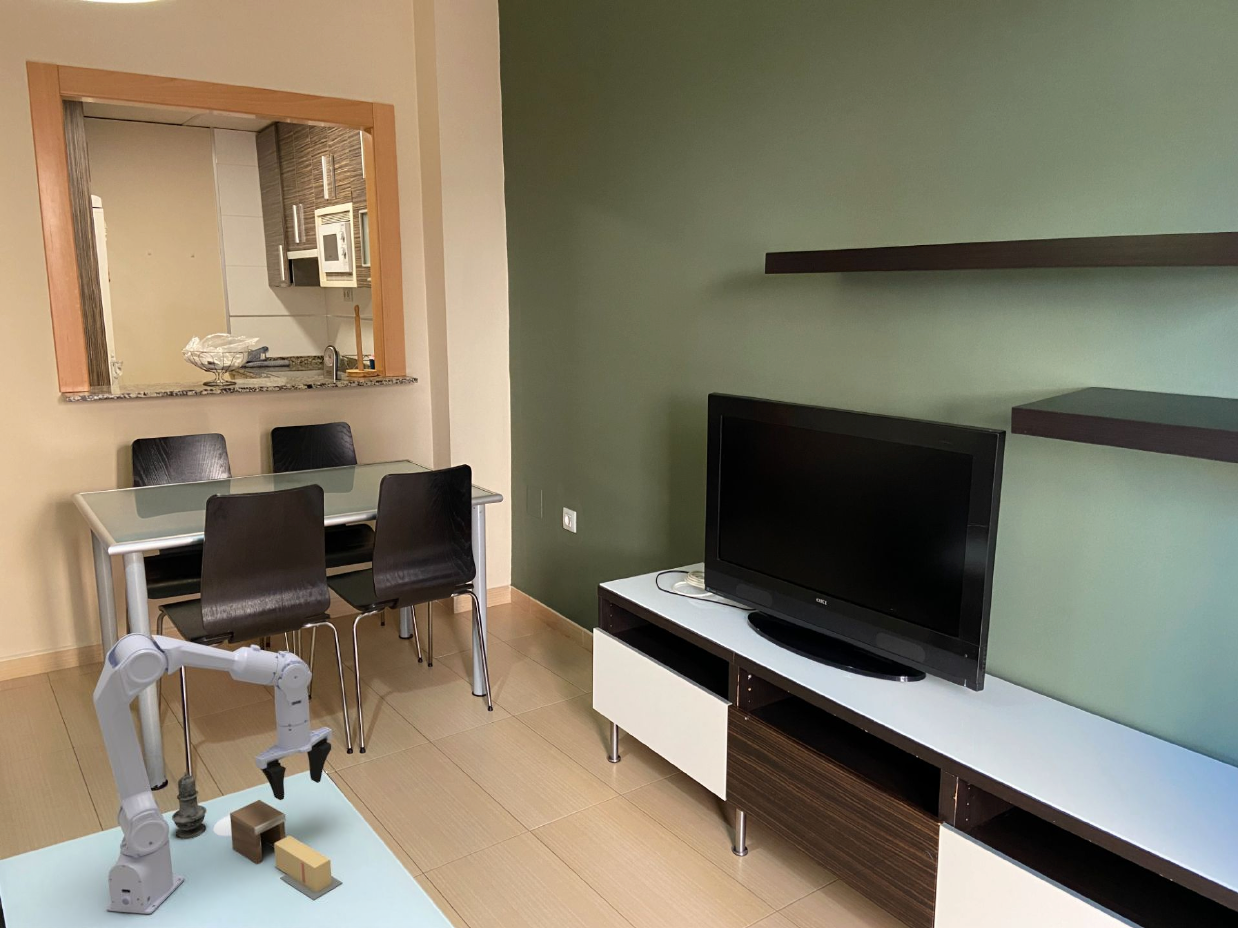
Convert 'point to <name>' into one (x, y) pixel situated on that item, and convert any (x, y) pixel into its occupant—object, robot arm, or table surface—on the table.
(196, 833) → the grey stone finial
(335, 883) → the mat
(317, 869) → the tan rectangular block
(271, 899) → the table surface
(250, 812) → the brown wooden open box
